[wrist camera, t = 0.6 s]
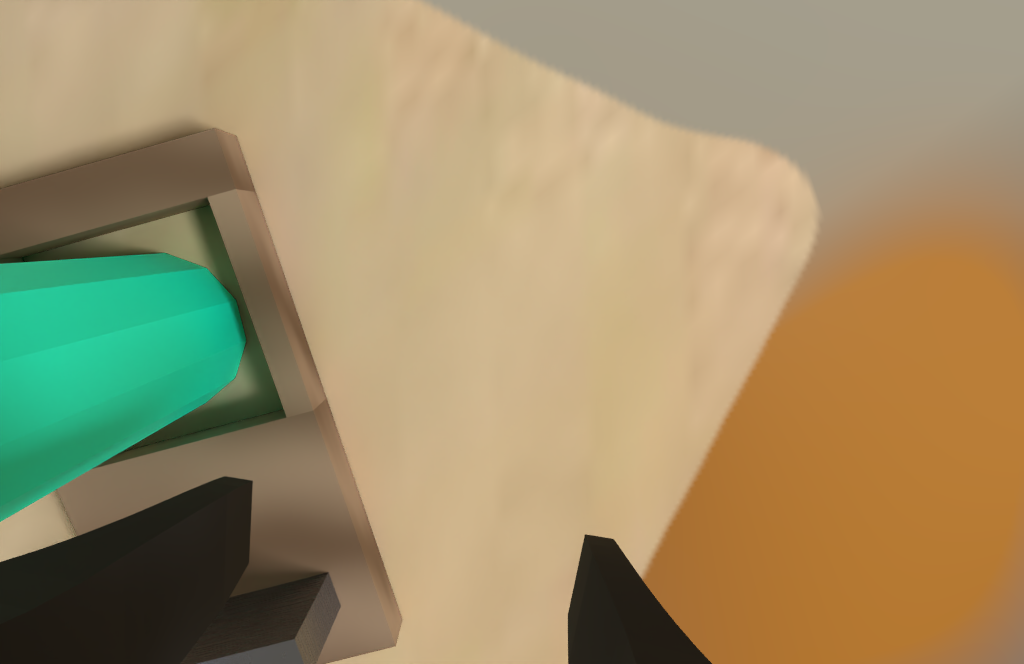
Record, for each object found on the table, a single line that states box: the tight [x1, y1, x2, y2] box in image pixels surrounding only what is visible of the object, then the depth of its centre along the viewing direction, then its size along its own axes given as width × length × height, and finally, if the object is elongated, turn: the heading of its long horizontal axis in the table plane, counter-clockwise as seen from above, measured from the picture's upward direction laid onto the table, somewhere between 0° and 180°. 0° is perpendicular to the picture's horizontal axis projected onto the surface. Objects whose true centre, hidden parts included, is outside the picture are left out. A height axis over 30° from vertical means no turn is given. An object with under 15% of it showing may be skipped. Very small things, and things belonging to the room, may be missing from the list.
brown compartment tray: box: [0, 128, 402, 664], centre depth 19 cm, size 20×10×5 cm, turn 15°
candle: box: [0, 253, 247, 522], centre depth 15 cm, size 6×6×12 cm
